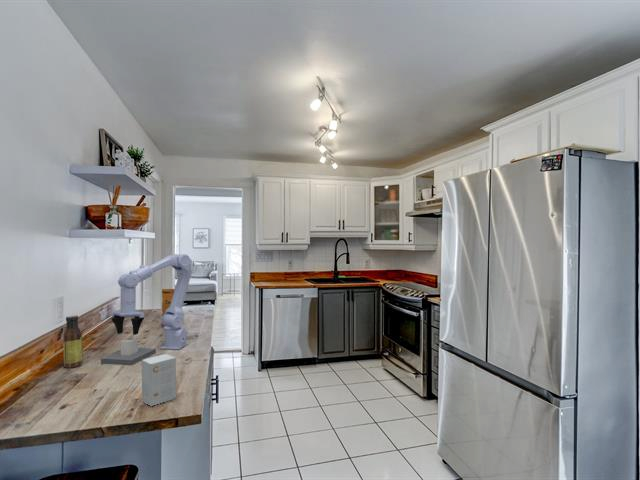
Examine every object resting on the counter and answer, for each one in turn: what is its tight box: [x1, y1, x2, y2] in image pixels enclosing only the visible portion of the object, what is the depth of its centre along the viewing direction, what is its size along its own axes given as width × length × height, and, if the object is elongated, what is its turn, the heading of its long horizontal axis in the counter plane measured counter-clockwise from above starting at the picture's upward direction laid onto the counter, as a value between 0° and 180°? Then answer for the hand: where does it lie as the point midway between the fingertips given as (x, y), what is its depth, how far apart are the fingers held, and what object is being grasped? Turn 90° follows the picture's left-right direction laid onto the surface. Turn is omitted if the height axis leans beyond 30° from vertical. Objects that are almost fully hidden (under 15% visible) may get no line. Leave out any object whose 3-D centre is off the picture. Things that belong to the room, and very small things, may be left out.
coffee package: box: [160, 288, 175, 327], centre depth 215 cm, size 10×12×22 cm
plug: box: [120, 337, 139, 356], centre depth 152 cm, size 4×6×8 cm
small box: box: [141, 353, 177, 407], centre depth 111 cm, size 8×6×13 cm
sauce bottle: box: [62, 314, 84, 369], centre depth 143 cm, size 6×6×20 cm
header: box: [100, 347, 157, 366], centre depth 152 cm, size 14×16×2 cm
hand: (127, 333), depth 152 cm, fingers open, 7 cm apart
